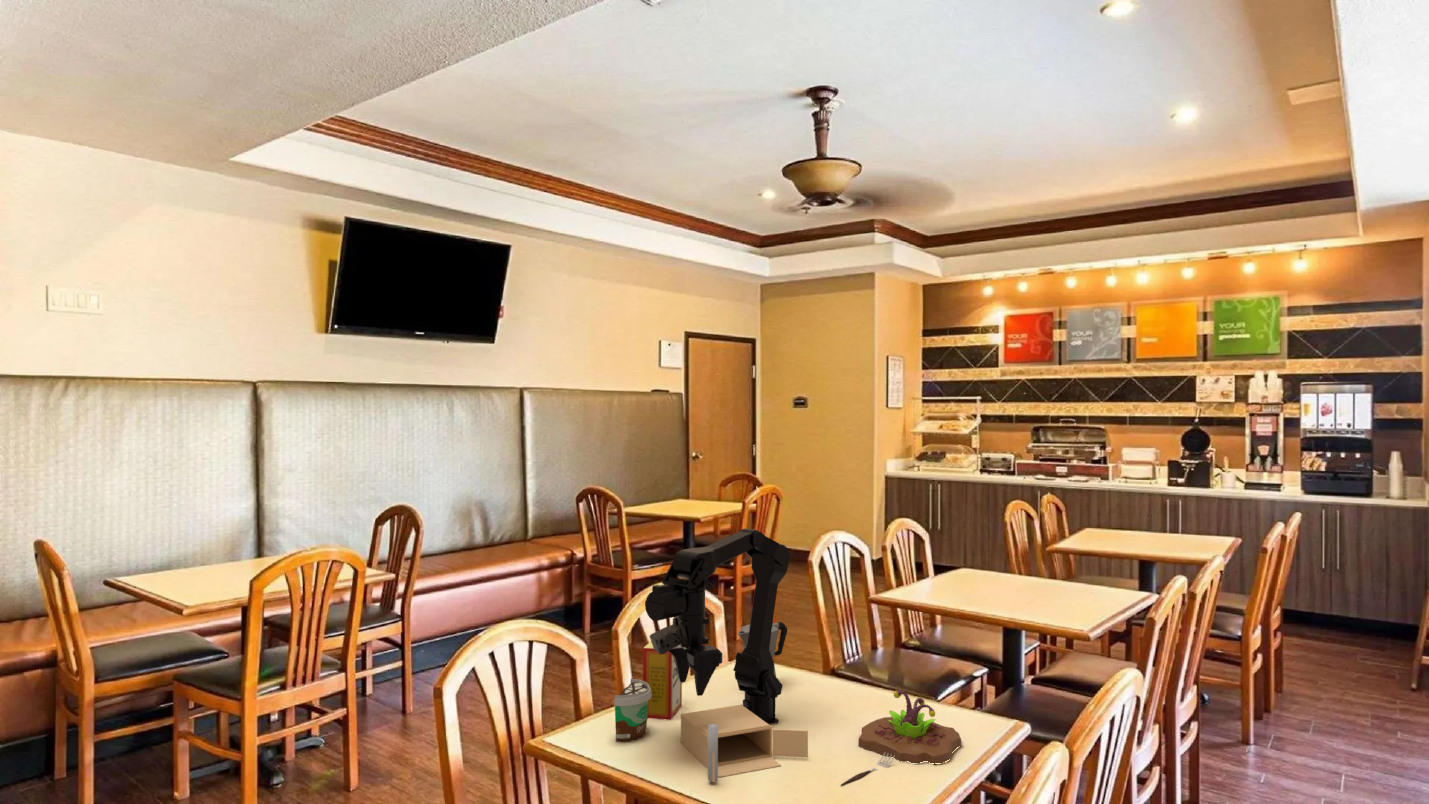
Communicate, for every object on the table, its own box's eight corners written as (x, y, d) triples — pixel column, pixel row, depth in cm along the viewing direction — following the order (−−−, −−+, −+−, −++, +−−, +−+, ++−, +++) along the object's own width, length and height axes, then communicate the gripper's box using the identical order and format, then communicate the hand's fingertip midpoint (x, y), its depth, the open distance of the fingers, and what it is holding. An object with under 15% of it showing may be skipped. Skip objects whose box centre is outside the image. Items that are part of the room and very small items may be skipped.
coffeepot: (750, 698, 203) (750, 623, 203) (727, 688, 211) (727, 616, 211) (798, 687, 212) (798, 615, 212) (774, 677, 219) (774, 608, 220)
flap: (718, 781, 155) (718, 727, 156) (708, 782, 155) (708, 727, 155) (713, 766, 162) (713, 714, 162) (704, 767, 162) (704, 714, 162)
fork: (835, 786, 156) (835, 775, 156) (884, 761, 167) (884, 751, 167) (846, 790, 154) (846, 779, 154) (895, 765, 165) (895, 755, 165)
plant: (882, 721, 189) (882, 671, 189) (969, 739, 179) (969, 686, 179) (845, 751, 172) (845, 696, 172) (940, 773, 162) (940, 714, 162)
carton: (766, 728, 184) (766, 699, 184) (810, 760, 166) (810, 728, 167) (680, 742, 175) (681, 712, 175) (717, 778, 158) (717, 744, 158)
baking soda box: (670, 720, 189) (670, 648, 189) (642, 717, 190) (643, 646, 190) (681, 705, 198) (681, 637, 198) (655, 703, 199) (655, 635, 200)
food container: (642, 747, 173) (642, 698, 173) (613, 744, 174) (613, 696, 175) (658, 725, 185) (658, 679, 185) (631, 723, 186) (631, 677, 187)
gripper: (639, 606, 179) (639, 680, 178) (670, 626, 162) (670, 708, 161) (688, 602, 183) (687, 674, 183) (723, 621, 166) (723, 700, 166)
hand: (691, 688), depth 173 cm, fingers open, 9 cm apart
